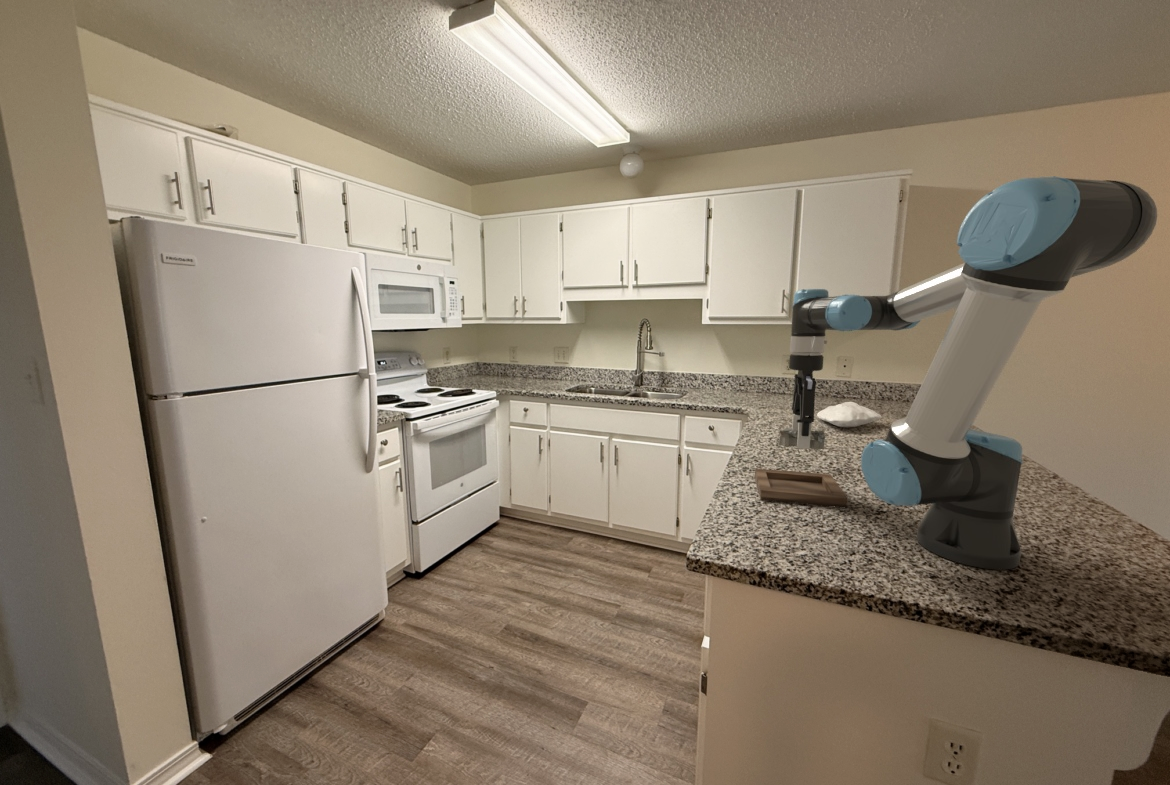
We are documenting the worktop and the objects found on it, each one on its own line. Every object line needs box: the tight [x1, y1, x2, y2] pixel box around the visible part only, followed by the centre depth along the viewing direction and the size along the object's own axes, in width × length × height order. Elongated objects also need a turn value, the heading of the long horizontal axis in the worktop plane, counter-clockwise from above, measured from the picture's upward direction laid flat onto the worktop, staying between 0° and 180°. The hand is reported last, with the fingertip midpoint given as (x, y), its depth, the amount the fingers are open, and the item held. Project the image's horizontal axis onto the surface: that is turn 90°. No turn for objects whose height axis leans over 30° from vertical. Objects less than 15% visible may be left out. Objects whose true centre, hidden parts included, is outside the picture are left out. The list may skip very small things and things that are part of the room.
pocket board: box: [754, 468, 849, 509], centre depth 117 cm, size 17×19×2 cm
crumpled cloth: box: [816, 401, 882, 428], centre depth 189 cm, size 24×35×9 cm
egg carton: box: [777, 427, 826, 451], centre depth 115 cm, size 11×8×4 cm
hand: (800, 443), depth 115 cm, fingers closed on egg carton, 8 cm apart
